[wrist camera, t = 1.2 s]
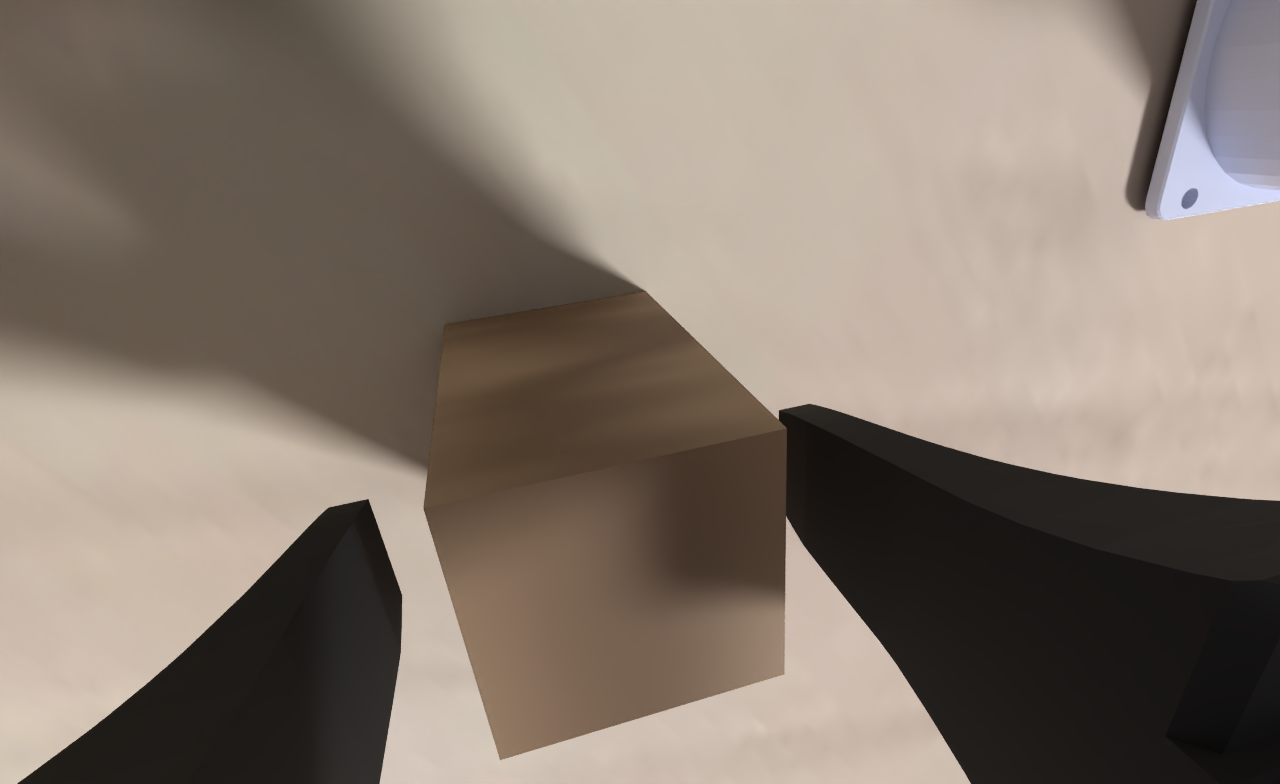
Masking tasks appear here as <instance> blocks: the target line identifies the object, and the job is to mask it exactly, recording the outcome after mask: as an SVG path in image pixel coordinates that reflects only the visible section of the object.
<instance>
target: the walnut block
mask: <svg viewBox="0 0 1280 784" xmlns="http://www.w3.org/2000/svg"><path fill="white" fill-rule="evenodd" d="M786 462H787V428H786V427H785V426H784V425H783V424H782V423H781V422H780V421H779V420H778V419H777V418H776V417H775V416H774V415H773V414H772V413H771V412H770V411H769V410H768V409H766V408H765V407H764V406H763V405H762V404H761V403H760V402H759V401H758V400H757V399H756V398H755V397H754V396H753V395H752V394H751V393H750V392H749V391H748V390H747V389H746V388H745V387H744V386H743V385H742V384H741V383H740V382H739V381H738V380H737V379H736V378H735V377H734V376H732V375H731V374H730V373H729V372H728V371H727V370H726V369H725V368H724V367H723V366H722V365H721V364H720V363H719V362H718V361H717V360H716V359H715V358H714V357H713V356H712V355H711V354H710V353H709V352H708V351H707V350H706V349H705V348H704V347H703V346H702V345H701V344H700V343H698V342H697V341H696V340H695V339H694V338H693V337H692V336H691V335H690V334H689V333H688V332H687V331H686V330H685V329H684V328H683V327H682V326H681V325H680V324H679V323H678V322H677V321H676V320H675V319H674V318H673V317H672V316H671V315H670V314H669V313H668V312H667V311H666V310H664V309H663V308H662V307H661V306H660V305H659V304H658V303H657V302H656V301H655V300H654V299H653V298H652V297H651V296H650V295H649V294H648V293H647V292H646V291H644V292H638V293H632V294H626V295H620V296H614V297H608V298H602V299H596V300H590V301H584V302H578V303H572V304H566V305H560V306H554V307H548V308H542V309H536V310H530V311H524V312H518V313H512V314H506V315H500V316H494V317H488V318H482V319H476V320H470V321H464V322H458V323H452V324H446V325H445V328H444V337H443V345H442V354H441V363H440V371H439V380H438V388H437V397H436V405H435V414H434V422H433V431H432V440H431V448H430V457H429V465H428V474H427V482H426V491H425V499H424V512H425V515H426V518H427V521H428V525H429V528H430V531H431V535H432V538H433V541H434V544H435V548H436V551H437V554H438V558H439V561H440V564H441V567H442V571H443V574H444V577H445V581H446V584H447V587H448V590H449V594H450V597H451V600H452V603H453V607H454V610H455V613H456V617H457V620H458V623H459V626H460V630H461V633H462V636H463V640H464V643H465V646H466V649H467V653H468V656H469V659H470V662H471V666H472V669H473V672H474V676H475V679H476V682H477V685H478V689H479V692H480V695H481V699H482V702H483V705H484V708H485V712H486V715H487V718H488V722H489V725H490V728H491V731H492V735H493V738H494V741H495V744H496V748H497V751H498V754H499V758H500V760H502V759H505V758H509V757H512V756H515V755H519V754H522V753H525V752H529V751H532V750H535V749H538V748H542V747H545V746H548V745H552V744H555V743H558V742H562V741H565V740H568V739H572V738H575V737H578V736H581V735H585V734H588V733H591V732H595V731H598V730H601V729H605V728H608V727H611V726H615V725H618V724H621V723H624V722H628V721H631V720H634V719H638V718H641V717H644V716H648V715H651V714H654V713H658V712H661V711H664V710H667V709H671V708H674V707H677V706H681V705H684V704H687V703H691V702H694V701H697V700H701V699H704V698H707V697H711V696H714V695H717V694H720V693H724V692H727V691H730V690H734V689H737V688H740V687H744V686H747V685H750V684H754V683H757V682H760V681H763V680H767V679H770V678H773V677H777V676H780V675H783V674H784V647H785V554H786Z"/></svg>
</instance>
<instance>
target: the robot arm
mask: <svg viewBox="0 0 1280 784" xmlns="http://www.w3.org/2000/svg"><path fill="white" fill-rule="evenodd" d="M1276 201H1280V0H1197V3H1196V7H1195V11H1194V14H1193V18H1192V22H1191V26H1190V30H1189V34H1188V38H1187V42H1186V46H1185V50H1184V54H1183V57H1182V61H1181V65H1180V69H1179V73H1178V77H1177V81H1176V85H1175V89H1174V93H1173V97H1172V100H1171V104H1170V108H1169V112H1168V116H1167V120H1166V124H1165V128H1164V132H1163V136H1162V140H1161V143H1160V147H1159V151H1158V155H1157V159H1156V163H1155V167H1154V171H1153V175H1152V179H1151V183H1150V186H1149V190H1148V194H1147V198H1146V203H1145V210H1146V214H1147V215H1148V216H1149V217H1150V218H1153V219H1160V220H1172V219H1178V218H1183V217H1189V216H1195V215H1201V214H1206V213H1212V212H1218V211H1224V210H1230V209H1235V208H1241V207H1247V206H1253V205H1259V204H1264V203H1270V202H1276ZM779 421H780V422H781V423H782V424H783V425H784V426H785V427H786V428H787V462H786V516H787V518H788V520H789V522H790V523H791V525H792V527H793V528H794V530H795V532H796V533H797V535H798V537H799V538H800V540H801V542H802V543H803V545H804V546H805V548H806V549H807V550H808V552H809V553H810V554H811V555H812V557H813V558H814V559H815V561H816V562H817V563H818V564H819V566H820V567H821V568H822V570H823V571H824V572H825V573H826V575H827V576H828V577H829V578H830V580H831V581H832V582H833V583H834V585H835V586H836V587H837V588H838V590H839V591H840V592H841V593H842V595H843V596H844V597H845V598H846V600H847V601H848V602H849V603H850V605H851V606H852V607H853V608H854V610H855V611H856V612H857V613H858V615H859V616H860V617H861V618H862V620H863V621H864V622H865V623H866V625H867V626H868V627H869V628H870V630H871V631H872V632H873V633H874V635H875V636H876V637H877V638H878V640H879V641H880V642H881V644H882V645H883V646H884V648H885V649H886V650H887V652H888V653H889V654H890V656H891V657H892V659H893V660H894V661H895V663H896V664H897V666H898V667H899V669H900V670H901V672H902V673H903V675H904V676H905V678H906V679H907V681H908V683H909V684H910V686H911V687H912V689H913V690H914V692H915V693H916V695H917V696H918V698H919V700H920V701H921V703H922V704H923V706H924V707H925V709H926V710H927V712H928V713H929V715H930V717H931V718H932V720H933V722H934V723H935V725H936V726H937V728H938V730H939V731H940V733H941V735H942V736H943V738H944V740H945V741H946V743H947V744H948V746H949V748H950V749H951V751H952V753H953V754H954V756H955V758H956V759H957V761H958V762H959V764H960V766H961V767H962V769H963V771H964V772H965V774H966V776H967V777H968V779H969V781H970V783H971V784H1280V501H1271V500H1252V499H1238V498H1228V497H1217V496H1206V495H1196V494H1185V493H1176V492H1167V491H1159V490H1151V489H1143V488H1135V487H1129V486H1122V485H1116V484H1110V483H1103V482H1097V481H1090V480H1084V479H1078V478H1073V477H1067V476H1062V475H1057V474H1052V473H1047V472H1043V471H1038V470H1034V469H1029V468H1024V467H1020V466H1015V465H1011V464H1006V463H1002V462H998V461H994V460H990V459H987V458H983V457H979V456H976V455H972V454H969V453H965V452H962V451H958V450H955V449H951V448H948V447H944V446H941V445H938V444H935V443H931V442H928V441H925V440H922V439H919V438H916V437H913V436H910V435H907V434H904V433H901V432H898V431H895V430H892V429H889V428H886V427H883V426H880V425H877V424H874V423H871V422H868V421H865V420H862V419H859V418H856V417H853V416H850V415H847V414H844V413H841V412H838V411H835V410H832V409H828V408H825V407H821V406H817V405H812V404H807V405H802V406H797V407H793V408H788V409H783V410H779ZM401 629H402V594H401V591H400V588H399V585H398V582H397V580H396V577H395V574H394V571H393V568H392V565H391V562H390V560H389V557H388V554H387V551H386V548H385V545H384V542H383V540H382V537H381V534H380V531H379V528H378V525H377V522H376V519H375V517H374V514H373V511H372V508H371V505H370V502H369V499H367V500H362V501H357V502H353V503H348V504H343V505H339V506H334V507H330V508H328V509H327V510H325V511H324V512H323V513H322V514H321V515H320V516H319V517H318V518H317V519H316V520H315V521H314V522H313V523H312V524H311V525H310V526H309V527H308V528H307V529H306V530H305V531H304V532H303V533H302V534H301V535H300V536H299V538H298V539H297V540H296V541H295V542H294V543H293V544H292V545H291V546H290V547H289V548H288V549H287V550H286V551H285V552H284V553H283V554H282V555H281V557H280V558H279V559H278V560H277V561H276V562H275V563H274V564H273V565H272V566H271V567H270V568H269V569H268V570H267V571H266V572H265V573H264V574H263V575H262V576H261V577H260V578H259V579H258V580H257V581H256V582H255V583H254V584H253V586H252V587H251V588H250V589H249V590H248V591H247V592H246V593H245V594H244V595H243V596H242V597H241V598H240V599H239V600H238V601H236V602H235V603H234V604H233V605H232V606H231V607H230V608H229V609H228V610H227V611H226V612H225V613H224V614H223V615H222V616H221V617H220V618H219V619H218V620H217V621H216V622H214V623H213V624H212V625H211V626H210V627H209V628H208V629H207V630H206V631H205V632H204V633H203V634H202V635H201V636H200V637H199V638H198V639H197V640H196V641H195V642H194V643H192V644H191V645H190V646H189V647H188V648H187V649H186V650H185V651H184V652H183V653H182V654H181V655H179V656H178V657H177V658H176V659H175V660H174V661H173V662H172V663H170V664H169V665H168V666H167V667H166V668H165V669H164V670H162V671H161V672H160V673H159V674H158V675H157V676H155V677H154V678H153V679H152V680H151V681H150V682H148V683H147V684H146V685H145V686H144V687H142V688H141V689H140V690H139V691H138V692H136V693H135V694H134V695H133V696H131V697H130V698H129V699H128V700H127V701H125V702H124V703H123V704H122V705H121V706H119V707H118V708H117V709H116V710H114V711H113V712H112V713H111V714H110V715H108V716H107V717H106V718H105V719H103V720H102V721H101V722H99V723H98V724H97V725H96V726H94V727H93V728H92V729H91V730H89V731H88V732H87V733H85V734H84V735H83V736H81V737H80V738H78V739H77V740H76V741H74V742H73V743H72V744H70V745H69V746H68V747H66V748H65V749H64V750H62V751H61V752H60V753H58V754H57V755H56V756H54V757H53V758H51V759H50V760H49V761H47V762H46V763H45V764H43V765H42V766H41V767H39V768H38V769H37V770H35V771H34V772H33V773H31V774H30V775H29V776H27V777H26V778H24V779H23V780H22V781H20V782H19V783H18V784H379V783H380V777H381V771H382V764H383V758H384V752H385V746H386V740H387V734H388V728H389V722H390V716H391V710H392V704H393V698H394V692H395V686H396V679H397V673H398V667H399V660H400V653H401Z"/></svg>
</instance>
